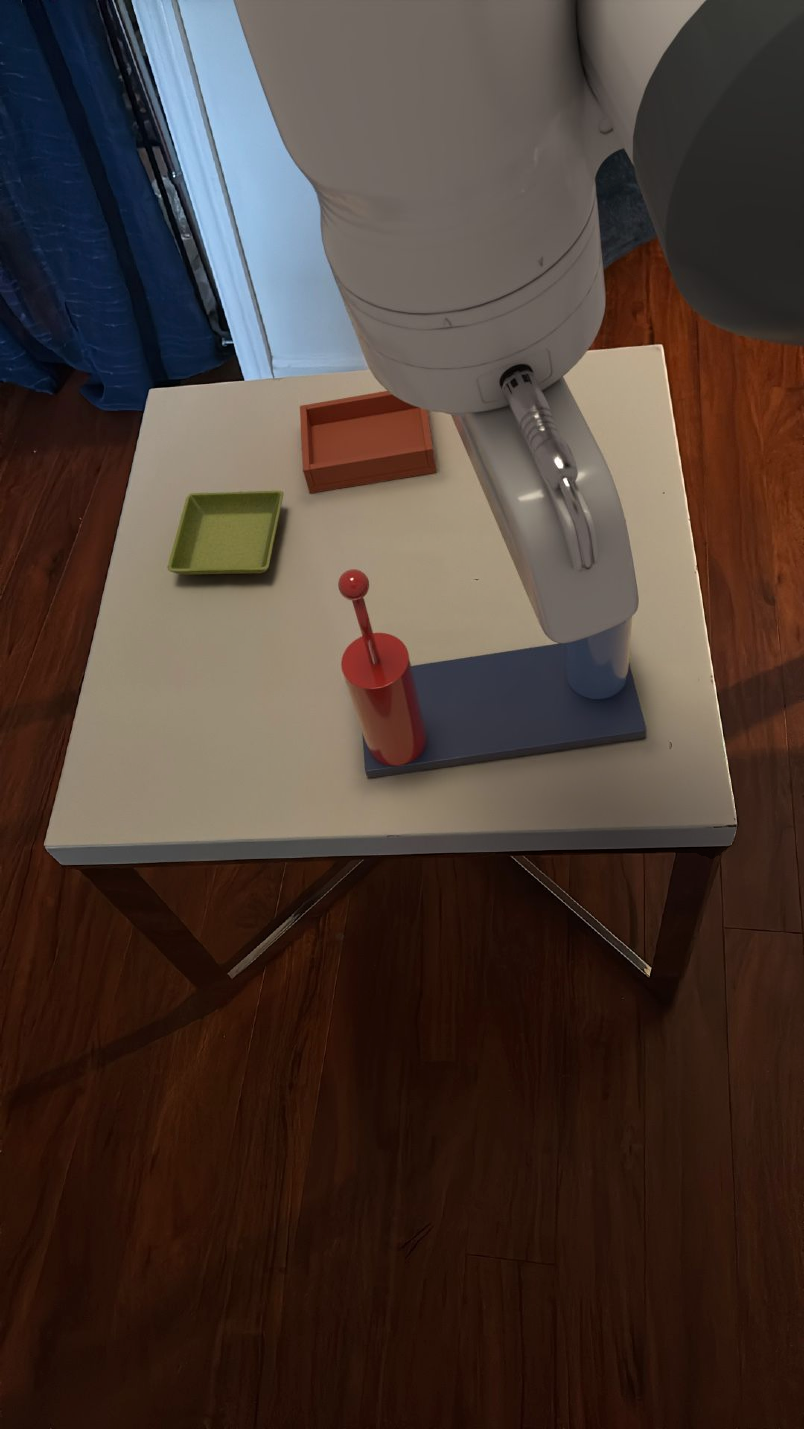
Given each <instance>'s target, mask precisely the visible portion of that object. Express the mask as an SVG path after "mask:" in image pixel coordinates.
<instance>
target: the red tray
mask: <svg viewBox="0 0 804 1429" xmlns="http://www.w3.org/2000/svg"><path fill="white" fill-rule="evenodd" d="M299 418H300V440H301V458H302V459H301V460H302V472H303V475H304V479H305V482H306V486H307V489H308V493H309V494H314V493H320V492H327V491H332V490H338V489H344V488H351V487H357V486H362V485H369V484H375V483H380V482H381V483H382V482H386V481H394V480H398V479H404V478H405V479H406V478H411V477H417V476H423V475H429V474H434V473H435V474H436V473H437V467H436V460H435V454H434V446H433V440H432V433H431V427H430V426H431V425H430V420H429V412H428V410H426V409H422V408H419V407H416V406H413V405H411V404H408V403H406V402H404V401H402V400H400V399H399V398H397V397H395V396H394V395H392V394H391V393H390V392H388V391H387V390H384V391H383V390H382V391H378V392H372V393H366V394H361V395H354V396H349V397H342V398H338V399H337V398H336V399H332V400H325V401H319V402H314V403H308V404H303V405H302V404H301V405H299Z"/></svg>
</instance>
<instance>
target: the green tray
mask: <svg viewBox="0 0 804 1429" xmlns="http://www.w3.org/2000/svg"><path fill="white" fill-rule="evenodd" d="M283 499H284V491H283V490H254V491H253V490H252V491H229V492H227V491H226V492H225V491H224V492H192V493H191V492H190V493H189V494H188V495H186V498H185V501H184V505H183V509H182V513H181V515H180V520H179V525H178V527H177V531H176V534H175V537H174V538H175V539H174V542H173V545H172V549H171V552H170V556H169V560H168V564H167V571H168V572H170V573H173V574H178V575H224V574H225V575H226V574H227V575H228V574H229V575H230V574H231V575H232V574H234V575H235V574H237V575H239V574H263V573H265V572H266V571H267V570H268V569H269V567H270V562H271V558H272V553H273V549H274V548H273V547H274V543H275V538H276V533H277V528H278V523H279V518H280V513H281V509H282V503H283Z"/></svg>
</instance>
